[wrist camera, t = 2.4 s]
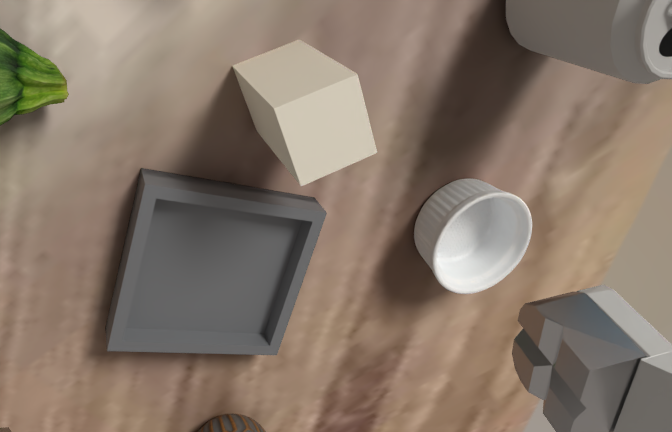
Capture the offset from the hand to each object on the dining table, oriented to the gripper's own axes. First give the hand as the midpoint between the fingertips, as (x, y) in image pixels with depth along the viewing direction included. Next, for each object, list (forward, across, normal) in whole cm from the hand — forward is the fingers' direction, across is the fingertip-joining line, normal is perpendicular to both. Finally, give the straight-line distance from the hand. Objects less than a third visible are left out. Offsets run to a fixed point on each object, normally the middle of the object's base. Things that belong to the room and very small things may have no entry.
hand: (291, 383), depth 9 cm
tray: (+27, +1, +17) cm, 32 cm away
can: (+31, -25, +3) cm, 40 cm away
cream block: (+28, -5, +6) cm, 29 cm away
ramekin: (+29, -18, +20) cm, 40 cm away
